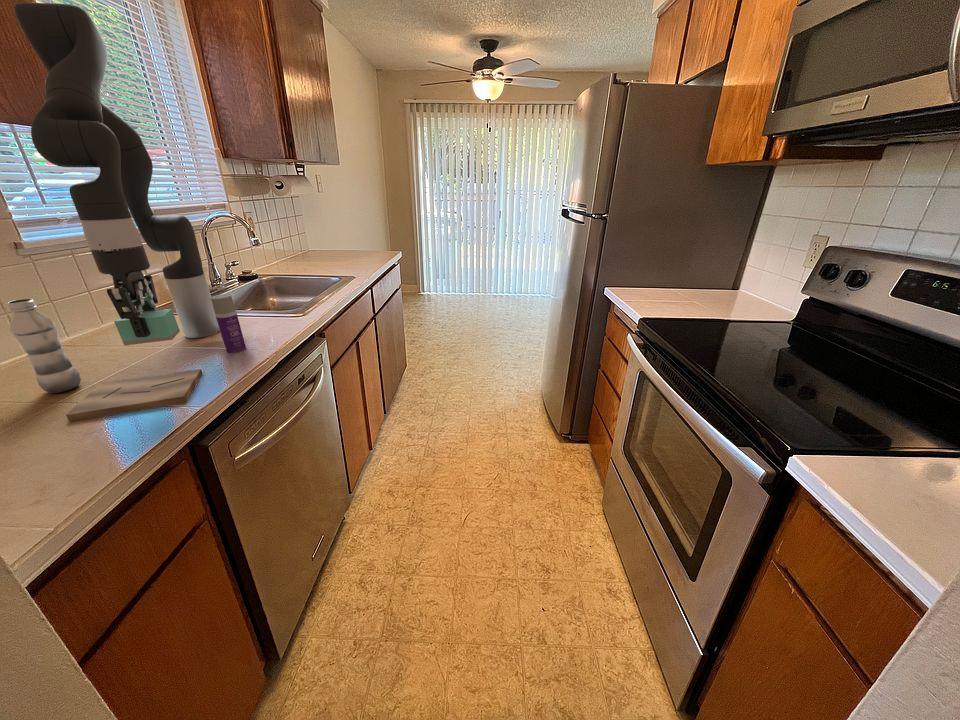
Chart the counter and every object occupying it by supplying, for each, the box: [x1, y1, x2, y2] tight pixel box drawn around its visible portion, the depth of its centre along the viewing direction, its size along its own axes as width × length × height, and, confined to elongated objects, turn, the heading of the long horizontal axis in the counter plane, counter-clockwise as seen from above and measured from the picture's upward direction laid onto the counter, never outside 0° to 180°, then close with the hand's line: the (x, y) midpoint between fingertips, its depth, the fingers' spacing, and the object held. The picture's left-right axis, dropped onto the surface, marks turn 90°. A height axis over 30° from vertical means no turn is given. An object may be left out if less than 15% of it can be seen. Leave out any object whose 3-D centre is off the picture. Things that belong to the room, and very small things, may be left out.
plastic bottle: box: [7, 298, 82, 394], centre depth 83 cm, size 6×7×20 cm
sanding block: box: [113, 308, 181, 346], centre depth 80 cm, size 5×8×5 cm, turn 110°
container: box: [211, 293, 247, 356], centre depth 103 cm, size 5×5×15 cm
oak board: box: [65, 368, 204, 422], centre depth 84 cm, size 14×19×2 cm
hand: (148, 331), depth 80 cm, fingers closed on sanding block, 5 cm apart
